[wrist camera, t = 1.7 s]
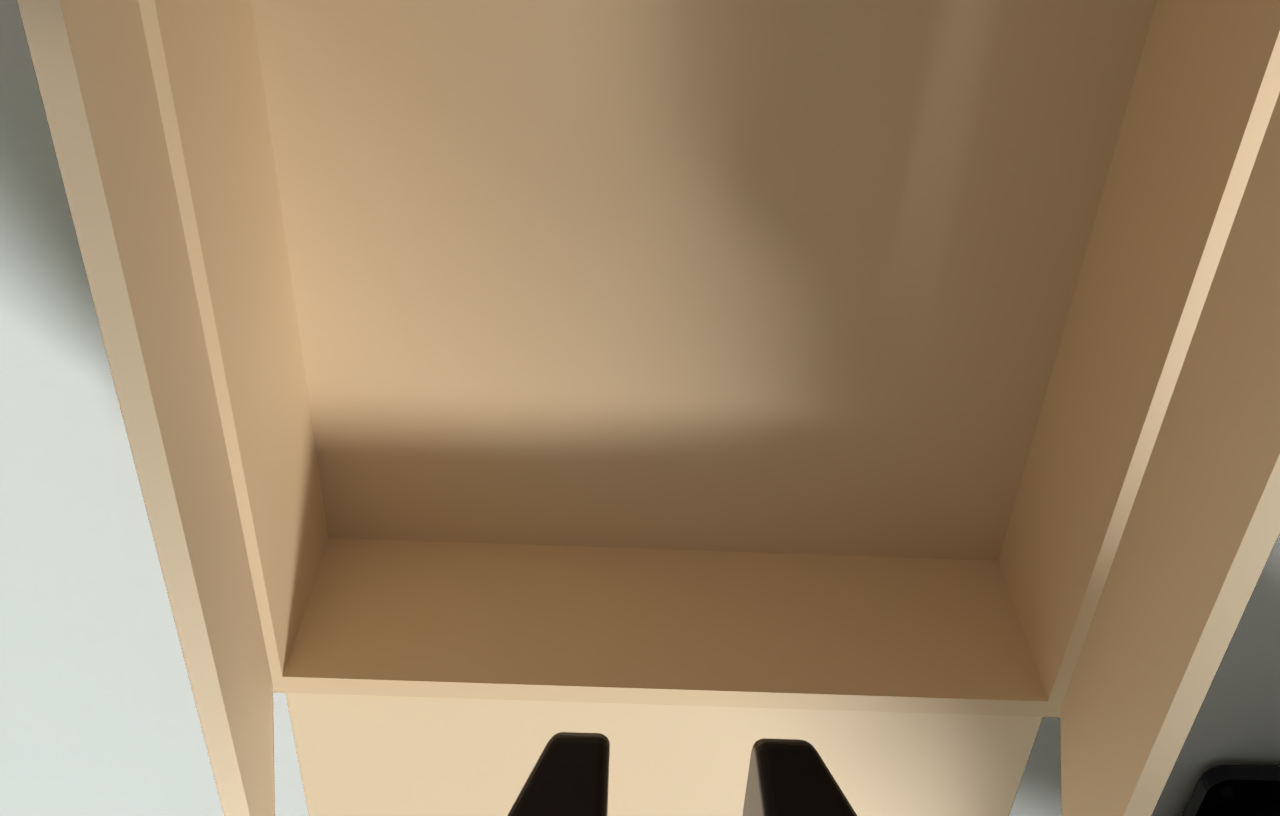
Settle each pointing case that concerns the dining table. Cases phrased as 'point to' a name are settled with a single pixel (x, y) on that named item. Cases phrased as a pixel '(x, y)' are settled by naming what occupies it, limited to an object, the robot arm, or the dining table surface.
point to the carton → (694, 368)
